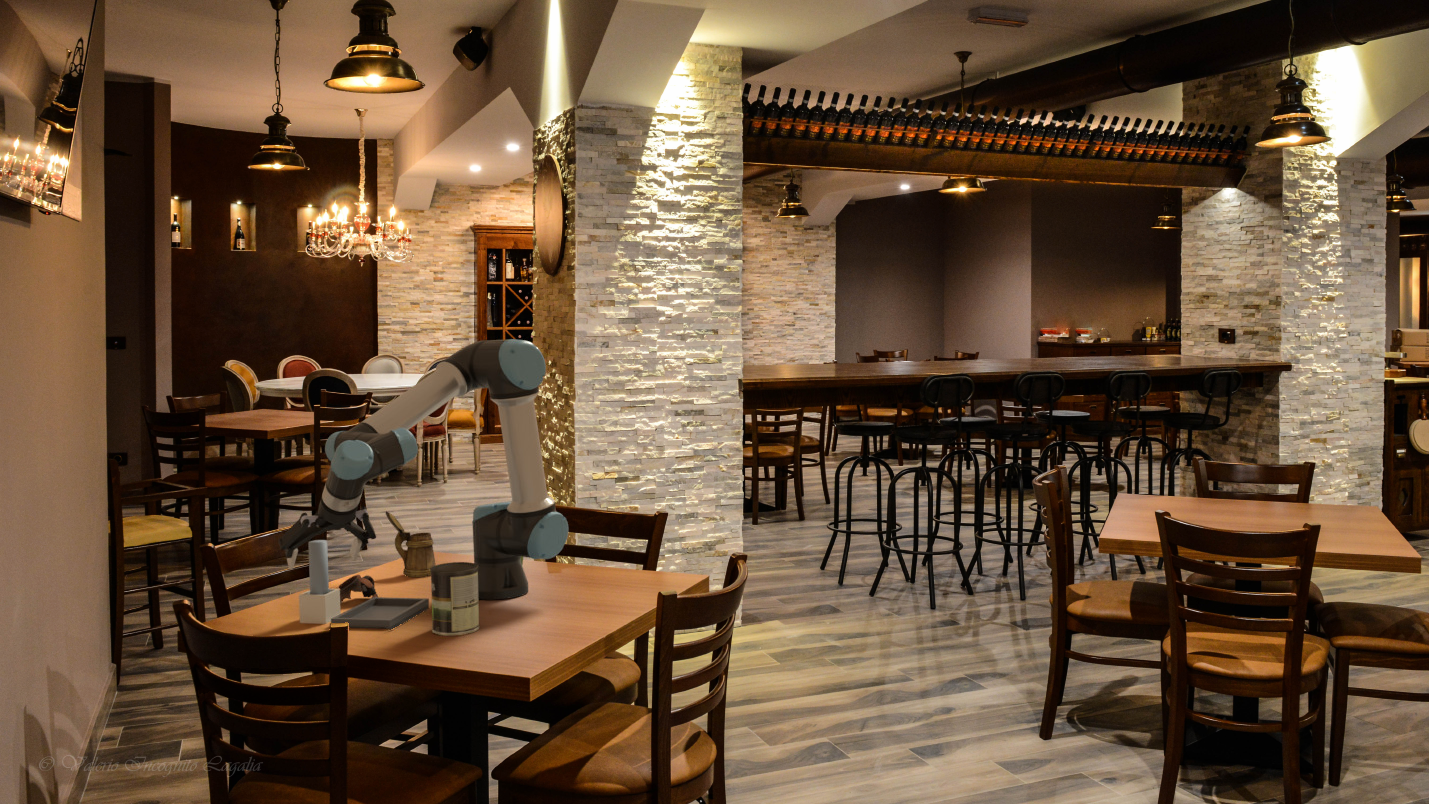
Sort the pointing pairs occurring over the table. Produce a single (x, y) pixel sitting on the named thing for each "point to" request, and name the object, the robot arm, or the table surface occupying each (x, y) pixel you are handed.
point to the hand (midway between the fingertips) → (321, 560)
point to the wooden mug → (414, 550)
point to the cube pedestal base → (319, 607)
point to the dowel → (318, 567)
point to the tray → (382, 612)
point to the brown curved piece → (357, 587)
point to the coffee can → (454, 598)
